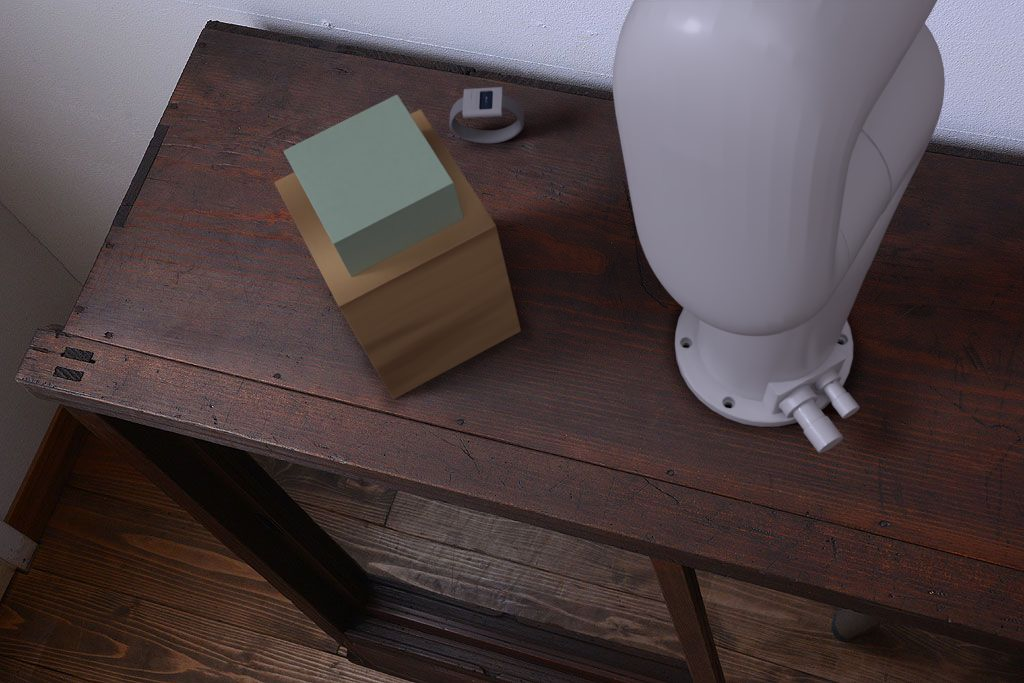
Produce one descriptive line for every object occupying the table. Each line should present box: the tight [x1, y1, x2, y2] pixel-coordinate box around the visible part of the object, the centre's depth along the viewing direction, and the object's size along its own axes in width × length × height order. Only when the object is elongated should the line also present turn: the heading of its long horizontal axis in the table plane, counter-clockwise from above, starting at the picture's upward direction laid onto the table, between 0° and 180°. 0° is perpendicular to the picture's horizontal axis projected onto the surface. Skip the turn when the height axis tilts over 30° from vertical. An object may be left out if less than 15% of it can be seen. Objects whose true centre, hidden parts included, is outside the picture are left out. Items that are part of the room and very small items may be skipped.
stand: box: [274, 108, 522, 400], centre depth 69 cm, size 11×11×15 cm
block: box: [283, 94, 464, 277], centre depth 61 cm, size 8×8×4 cm
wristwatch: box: [448, 86, 525, 145], centre depth 80 cm, size 6×3×5 cm, turn 89°
